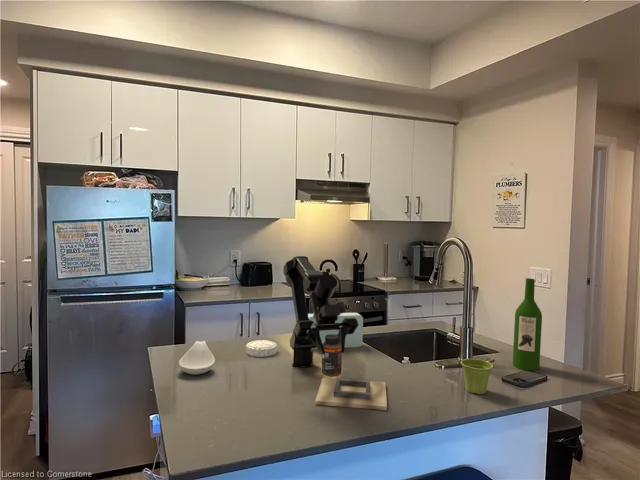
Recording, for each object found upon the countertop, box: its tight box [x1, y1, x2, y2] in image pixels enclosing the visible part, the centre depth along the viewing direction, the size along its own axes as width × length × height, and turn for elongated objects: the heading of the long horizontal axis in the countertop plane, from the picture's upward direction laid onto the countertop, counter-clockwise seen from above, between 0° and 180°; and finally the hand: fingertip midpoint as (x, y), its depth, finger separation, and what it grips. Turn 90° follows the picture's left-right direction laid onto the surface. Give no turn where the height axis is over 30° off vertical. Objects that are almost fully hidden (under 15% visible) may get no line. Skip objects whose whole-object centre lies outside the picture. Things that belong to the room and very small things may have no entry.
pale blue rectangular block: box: [308, 312, 364, 350], centre depth 176 cm, size 23×6×13 cm, turn 104°
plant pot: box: [460, 358, 494, 395], centre depth 134 cm, size 9×9×9 cm
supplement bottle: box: [321, 335, 343, 378], centre depth 126 cm, size 6×6×11 cm
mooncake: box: [245, 339, 278, 358], centre depth 167 cm, size 12×12×4 cm
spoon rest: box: [178, 340, 216, 375], centre depth 150 cm, size 24×12×7 cm, turn 12°
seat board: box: [314, 377, 388, 411], centre depth 129 cm, size 20×18×2 cm
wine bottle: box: [512, 277, 543, 372], centre depth 157 cm, size 9×9×32 cm
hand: (333, 353), depth 125 cm, fingers closed on supplement bottle, 6 cm apart
